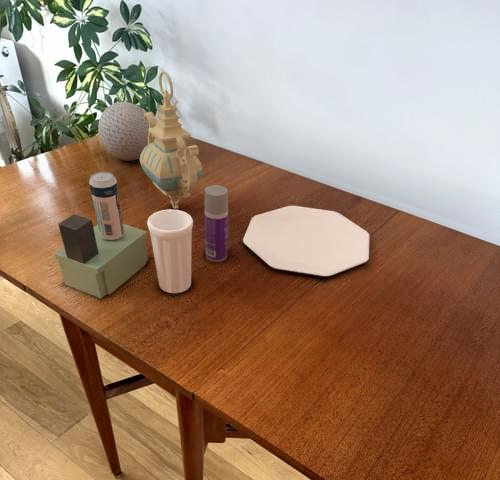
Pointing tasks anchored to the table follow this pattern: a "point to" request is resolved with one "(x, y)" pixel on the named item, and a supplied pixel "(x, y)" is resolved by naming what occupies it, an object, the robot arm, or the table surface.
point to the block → (78, 238)
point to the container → (216, 223)
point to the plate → (307, 241)
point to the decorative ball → (124, 130)
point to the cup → (172, 248)
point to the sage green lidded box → (106, 263)
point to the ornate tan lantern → (170, 152)
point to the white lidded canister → (107, 205)
